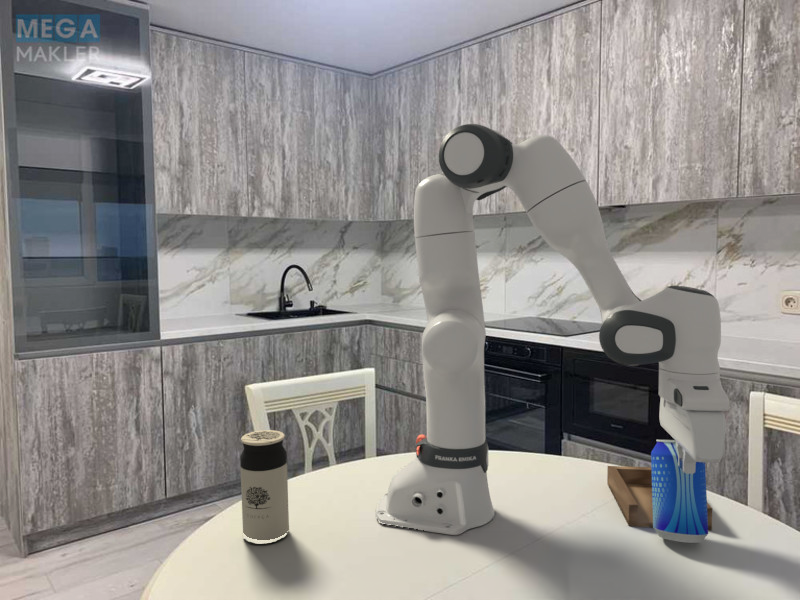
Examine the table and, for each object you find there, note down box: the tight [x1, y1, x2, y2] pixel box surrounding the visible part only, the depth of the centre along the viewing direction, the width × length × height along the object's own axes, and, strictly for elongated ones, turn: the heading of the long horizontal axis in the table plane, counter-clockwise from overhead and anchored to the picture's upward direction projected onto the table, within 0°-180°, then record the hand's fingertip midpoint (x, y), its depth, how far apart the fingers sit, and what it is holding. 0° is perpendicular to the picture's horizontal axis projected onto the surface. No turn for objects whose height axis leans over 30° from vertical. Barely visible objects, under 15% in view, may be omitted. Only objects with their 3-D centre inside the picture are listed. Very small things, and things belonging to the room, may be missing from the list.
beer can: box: [650, 439, 709, 544], centre depth 101 cm, size 8×8×16 cm
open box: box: [606, 465, 713, 531], centre depth 115 cm, size 14×20×4 cm
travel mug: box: [239, 429, 290, 540], centre depth 104 cm, size 8×8×18 cm
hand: (686, 470), depth 96 cm, fingers closed
